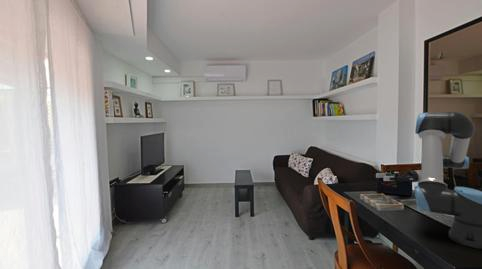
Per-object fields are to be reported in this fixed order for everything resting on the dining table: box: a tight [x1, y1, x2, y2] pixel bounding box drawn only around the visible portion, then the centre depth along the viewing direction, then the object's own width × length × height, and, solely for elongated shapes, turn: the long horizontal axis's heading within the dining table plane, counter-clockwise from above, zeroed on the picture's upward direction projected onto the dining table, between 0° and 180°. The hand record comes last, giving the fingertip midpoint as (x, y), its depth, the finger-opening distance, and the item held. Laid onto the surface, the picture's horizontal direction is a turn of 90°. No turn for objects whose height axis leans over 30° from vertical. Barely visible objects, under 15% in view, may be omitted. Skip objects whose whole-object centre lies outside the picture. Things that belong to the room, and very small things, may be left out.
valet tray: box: [359, 193, 405, 212], centre depth 162 cm, size 22×15×4 cm
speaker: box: [375, 171, 413, 197], centre depth 184 cm, size 22×13×15 cm, turn 62°
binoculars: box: [378, 168, 397, 187], centre depth 162 cm, size 9×11×10 cm
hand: (379, 177), depth 162 cm, fingers closed on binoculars, 8 cm apart
